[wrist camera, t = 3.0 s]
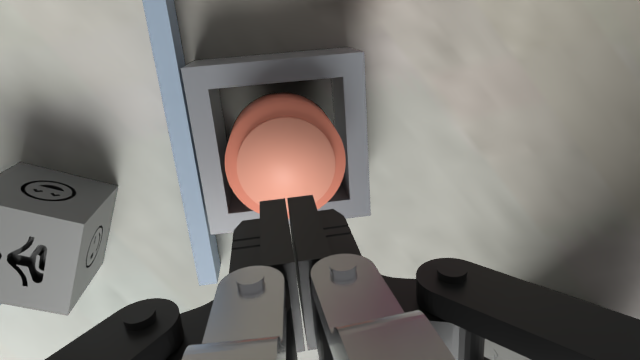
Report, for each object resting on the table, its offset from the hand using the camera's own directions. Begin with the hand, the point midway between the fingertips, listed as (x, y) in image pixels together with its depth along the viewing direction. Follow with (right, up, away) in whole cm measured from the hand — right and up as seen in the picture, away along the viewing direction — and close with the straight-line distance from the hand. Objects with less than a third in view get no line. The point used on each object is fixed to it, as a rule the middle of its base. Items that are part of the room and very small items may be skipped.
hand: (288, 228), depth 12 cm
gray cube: (-13, -1, +12) cm, 18 cm away
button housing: (-1, +4, +12) cm, 13 cm away
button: (-1, +3, +9) cm, 9 cm away
